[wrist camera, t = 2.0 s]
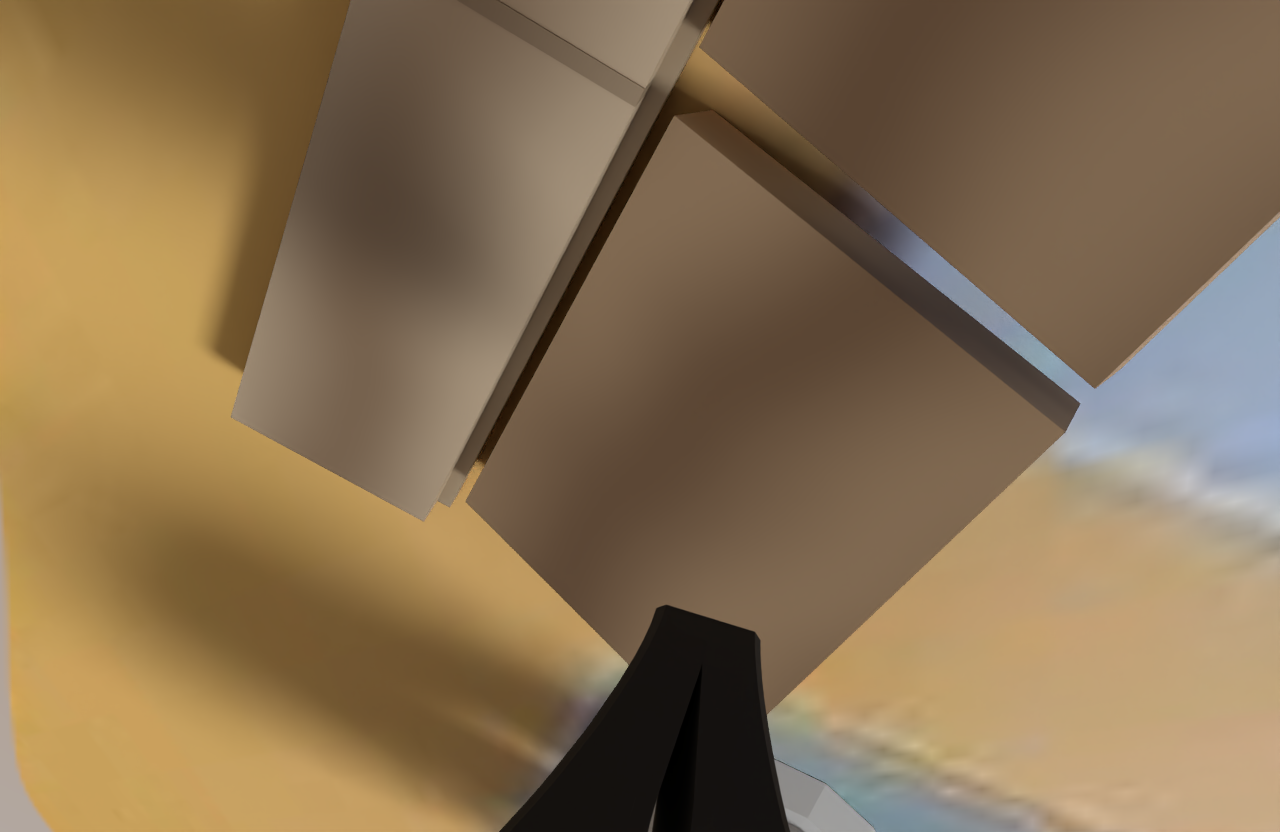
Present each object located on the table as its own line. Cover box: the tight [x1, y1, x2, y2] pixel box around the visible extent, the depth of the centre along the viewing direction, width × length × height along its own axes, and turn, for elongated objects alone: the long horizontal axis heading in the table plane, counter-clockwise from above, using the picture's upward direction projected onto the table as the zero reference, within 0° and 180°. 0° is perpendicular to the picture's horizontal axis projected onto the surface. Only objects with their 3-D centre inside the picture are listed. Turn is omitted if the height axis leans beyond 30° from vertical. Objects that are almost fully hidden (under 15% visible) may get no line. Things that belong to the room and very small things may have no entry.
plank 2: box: [465, 110, 1080, 714], centre depth 16 cm, size 7×9×1 cm
